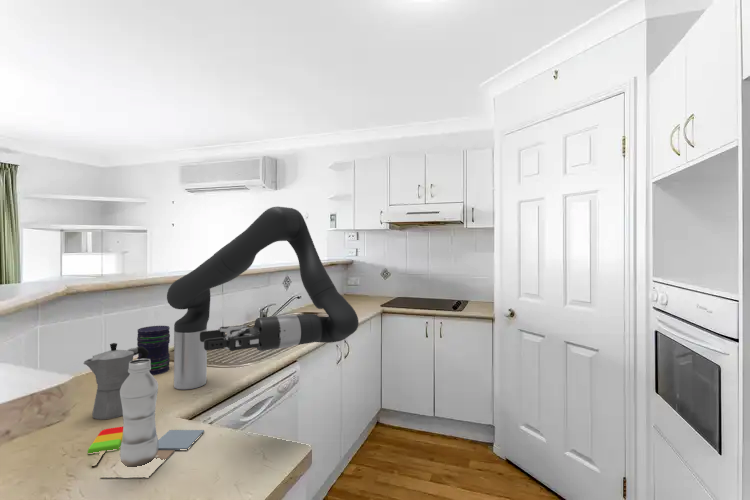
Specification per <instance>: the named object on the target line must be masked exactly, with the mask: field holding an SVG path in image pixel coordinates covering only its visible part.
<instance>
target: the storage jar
mask: <svg viewBox="0 0 750 500" xmlns="http://www.w3.org/2000/svg"><path fill="white" fill-rule="evenodd" d="M170 334H171V333H170V326H168V325H150V326H145V327H140V328H137V336H136V338H137V339H136V340H137V344H136V345H137V346H136V347H140V346H143V347H144V348H145V349H146V350H148V356H147V359H150V361H151V370H149V372H150V373H151V374H152V375H153V376H156V375H157V376H158V375H162V374H164V373H167V372H168V371H170V362H171V358H170V353H169V351H170V348H169V347H170V344H171V343H170V342H171V339H170V337H171V335H170ZM137 355H138V356H137V358H136V360H137V359H140V357H141V355H142V354H141V353H139V354H137Z"/></svg>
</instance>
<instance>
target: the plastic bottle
mask: <svg viewBox="0 0 750 500" xmlns="http://www.w3.org/2000/svg"><path fill="white" fill-rule="evenodd" d="M149 370H151V361H150V359H137V358H136V359H133V361H130V362H129V369H128V372H129V373H130V375H129V376H128V377H127V379H126V380H125V381H124V383H123V384H122V386H121V389H120V398H121V403H122V409H123V416H122V418H123V422H122V423H123V426H122V427H123V437H122V443H121V447H120V449H119V457H120V459H121V462H122V463H123V464H124V465H125V466H127V467H137V466H142V465H145V464H147V463H149V462H151V461H152V460H153V459H154V458H155V457H156V455H157V453H158V448H159V442H158V440H159V437H158V434H157V426H156V425H157V424H156V407H157V398H158V393H159V383H158V380H157V379H156V378H155V375H152V374H151V373H150V372H149ZM120 459H119V460H120Z"/></svg>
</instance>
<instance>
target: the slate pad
mask: <svg viewBox="0 0 750 500" xmlns="http://www.w3.org/2000/svg"><path fill="white" fill-rule="evenodd" d="M203 432H204V433H205V430H204V429H169V430H167V432H166V433H165V434H163V436H161V437H160V438H158V442H159V448H158V450H180V449H188V448H189V447H190V446H191V445H192V443H193V442H195V440H196V439H197V438H198V437H199V436H200V435H201V434H202V433H203ZM204 433H203V434H204ZM203 434H202V435H203ZM195 443H196V442H195ZM192 446H193V445H192ZM192 446H191V447H192Z"/></svg>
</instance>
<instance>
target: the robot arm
mask: <svg viewBox="0 0 750 500" xmlns="http://www.w3.org/2000/svg"><path fill="white" fill-rule="evenodd" d="M278 242H288V244H289V245H290V247H291V248H292V249H293V251H294V253H295V255H296V257H297V260H298V265H299V272H300V278H301V279H300V280H301V282H302V285H303V288H304V289H305V292H306V293H307V295H308V296H309V298H310V300H311V302H312V303H313V305H314V306H315V308H316V309H318V310H324V311H325V313H326V314H327V315H328V316H321V317H320V316H318V315H317V314H314V313H309V314H307V313H306V314H296V315H295V314H294V315H292V314H291V315H290V314H287V315H285V314H284V315H273V316H263V317H257V318H256V319H255V321H254V326H253V327H248V325H246V324H241V325H231V326H221V327H219V328H218V329H211V330H208V323H209V319H210V311H211V289H213V288H217V287H218V286H221V285H223V284H226V283H228V282H231V281H232V280H235V279H236V278H238V277H239V276H241V275H242V274H243V273H245V272H246V271H247V270H248V269H250V267H251V266H252V265H253V263H254V261H255V259H256V256H257V255H258V254H259V252H261V251H262V250H263V249H265V248H267V247H268V246H270V245H272V244H274V243H278ZM166 300H167V303H168V304H169V306H170V307H171V308H173V309H176V310H187V311H186V313H185V314H184V315H183V316H182V317H180V318H179V319H177V320H176V321H175V322H174V327H173V330H174V331H173V346H174V347H173V353H174V354H173V388H174V389H177V390H191V389H197V388H200V387H202V386H204V385H205V384H207V370H208V369H207V366H208V365H207V364H208V362H207V361H208V354H207V353H208V352H207V351H213V350H214V351H215V350H221V349H224V350H229V351H230V352H234V351H240V350H246V349H253V348H256V350H257V351H259V352H263V351H270V350H279V349H284V348H290V347H295V346H298V345H306V344H312V343H337V342H341V341H344V340H345V339H347V338H348V337H350V336H351V335H353V334H354V333H355V332H356V331H357V330H358V328H359V323H360V322H359V318H358V314H357V312H356V310H355V309H354V308H353V306H352V305H351V304H350V303H349V302H348V301H347V300H346V298H345V297H344V296H343V295H341V293H340V292H339V291H338V289H337V288H336V286H335V284H334V282H333V281H332V279H331V277H330V275H329V274H328V271H326V269H325V267H324V264H323V263H322V261H321V259H320V256H319V254H318V251H317V249H316V246H315V244H314V241H313V239H312V236H311V233H310V231H309V228H308V226H307V223H306V220H305V218H304V216H303V215H302V213H301V212H300V211H299V210H298V209H295V208H293V207H287V206H286V207H285V206H272V207H269V208H267V209H265V211H263V212H262V213H261V214H259V216H258V217H257V218H256V219H255V220H254V221H253V222H252V223H251V224H250V225H249V226H248V227H247V228H246V229H245V230H244V231H242V232H241V233H240V234H238V236H235V238H234V239H232V240H231V241H230V242H228V243H227V244H226V245H224V246H223V247H221V248H220V249H219V250H217V251H216V252H215V253H213V254H212V256H210V257H209V258H207V259H206V260H205V261H204V262H202V263H201V264H200V265H199V266H197V267H196V268H195V269H194V270H192V271H190V272H188V273H186V274H185V275H183V276H182V277H180V278H178V279H176V280H175V281H174V282H172V283H171V285H169V288H168V290H167V293H166Z"/></svg>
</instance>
